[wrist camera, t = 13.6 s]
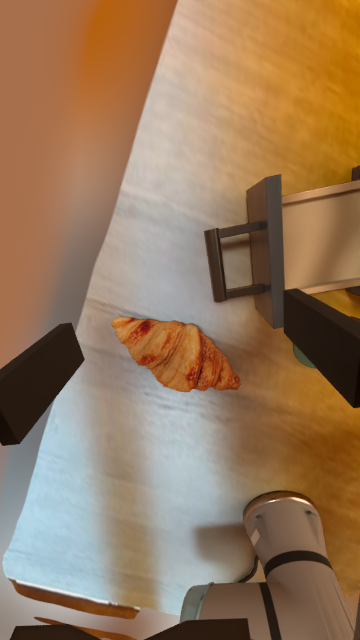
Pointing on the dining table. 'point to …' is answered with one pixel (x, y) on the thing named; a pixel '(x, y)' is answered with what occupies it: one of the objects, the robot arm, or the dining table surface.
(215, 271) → the drawer
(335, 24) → the dining table surface
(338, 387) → the robot arm
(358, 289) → the cabinet
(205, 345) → the croissant
